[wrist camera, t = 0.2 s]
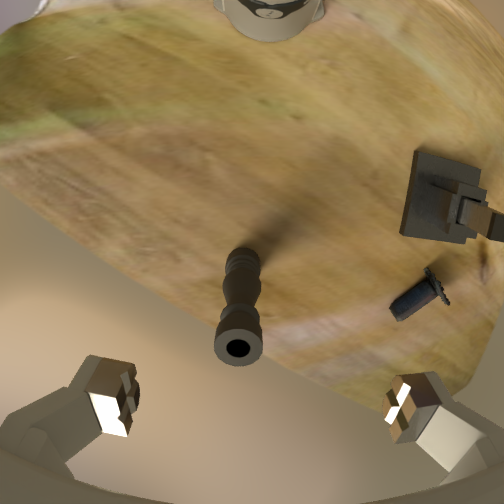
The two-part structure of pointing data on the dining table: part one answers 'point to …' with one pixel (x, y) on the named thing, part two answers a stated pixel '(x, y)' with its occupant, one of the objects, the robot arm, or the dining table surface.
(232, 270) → the candle holder
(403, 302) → the dark flanged cylinder
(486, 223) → the column
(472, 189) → the stand
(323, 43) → the dining table surface
